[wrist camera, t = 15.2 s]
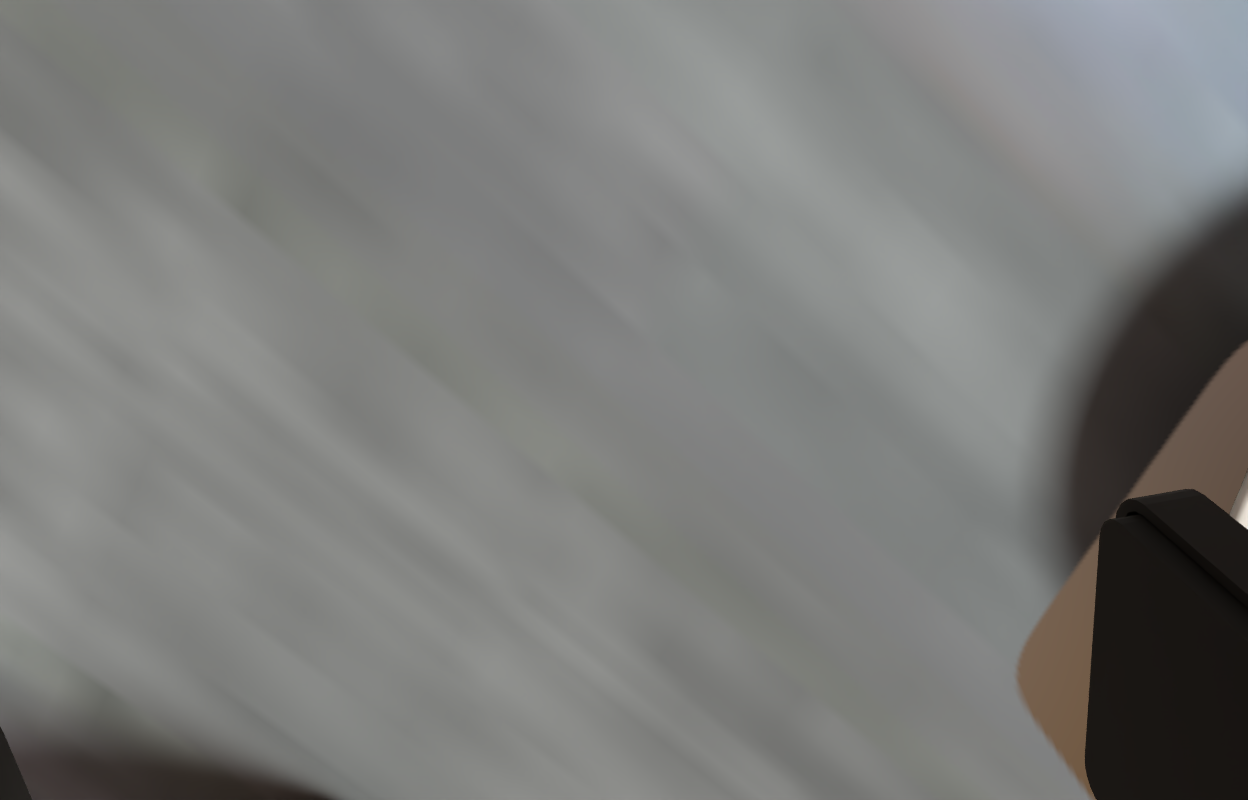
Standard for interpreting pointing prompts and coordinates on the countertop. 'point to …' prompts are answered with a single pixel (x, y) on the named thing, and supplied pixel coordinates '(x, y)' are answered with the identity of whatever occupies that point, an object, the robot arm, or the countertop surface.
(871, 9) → the countertop surface
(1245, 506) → the soup bowl
